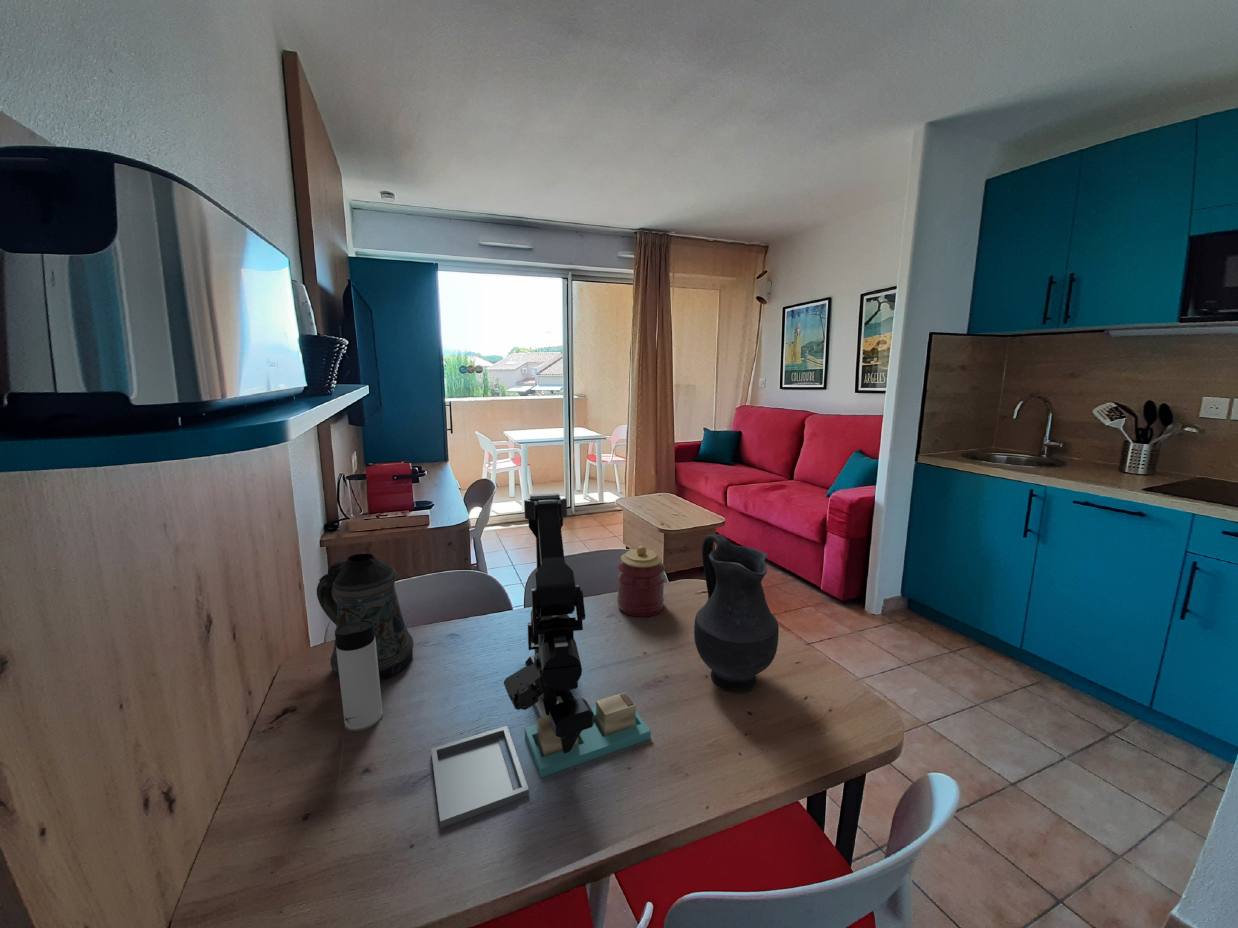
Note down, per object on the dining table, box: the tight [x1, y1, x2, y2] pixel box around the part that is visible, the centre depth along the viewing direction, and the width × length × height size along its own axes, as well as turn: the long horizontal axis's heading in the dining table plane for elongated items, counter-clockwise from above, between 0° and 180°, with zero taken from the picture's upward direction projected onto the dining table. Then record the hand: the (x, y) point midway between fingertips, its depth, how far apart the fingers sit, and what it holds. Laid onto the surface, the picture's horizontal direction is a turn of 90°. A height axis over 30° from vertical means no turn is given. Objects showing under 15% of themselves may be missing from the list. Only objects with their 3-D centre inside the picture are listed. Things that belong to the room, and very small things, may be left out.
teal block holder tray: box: [524, 705, 652, 778], centre depth 87 cm, size 10×20×2 cm, turn 115°
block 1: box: [536, 715, 578, 757], centre depth 84 cm, size 4×6×5 cm, turn 115°
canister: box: [616, 545, 666, 618], centre depth 134 cm, size 13×13×18 cm
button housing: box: [532, 695, 546, 718], centre depth 94 cm, size 7×7×2 cm
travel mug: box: [334, 620, 384, 732], centre depth 89 cm, size 6×7×20 cm
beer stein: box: [316, 553, 415, 682], centre depth 106 cm, size 16×19×25 cm
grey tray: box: [430, 725, 530, 829], centre depth 79 cm, size 15×13×2 cm
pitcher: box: [693, 533, 780, 694], centre depth 104 cm, size 17×21×30 cm
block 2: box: [595, 691, 637, 737], centre depth 88 cm, size 4×6×5 cm, turn 115°
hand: (557, 733), depth 84 cm, fingers open, 9 cm apart
